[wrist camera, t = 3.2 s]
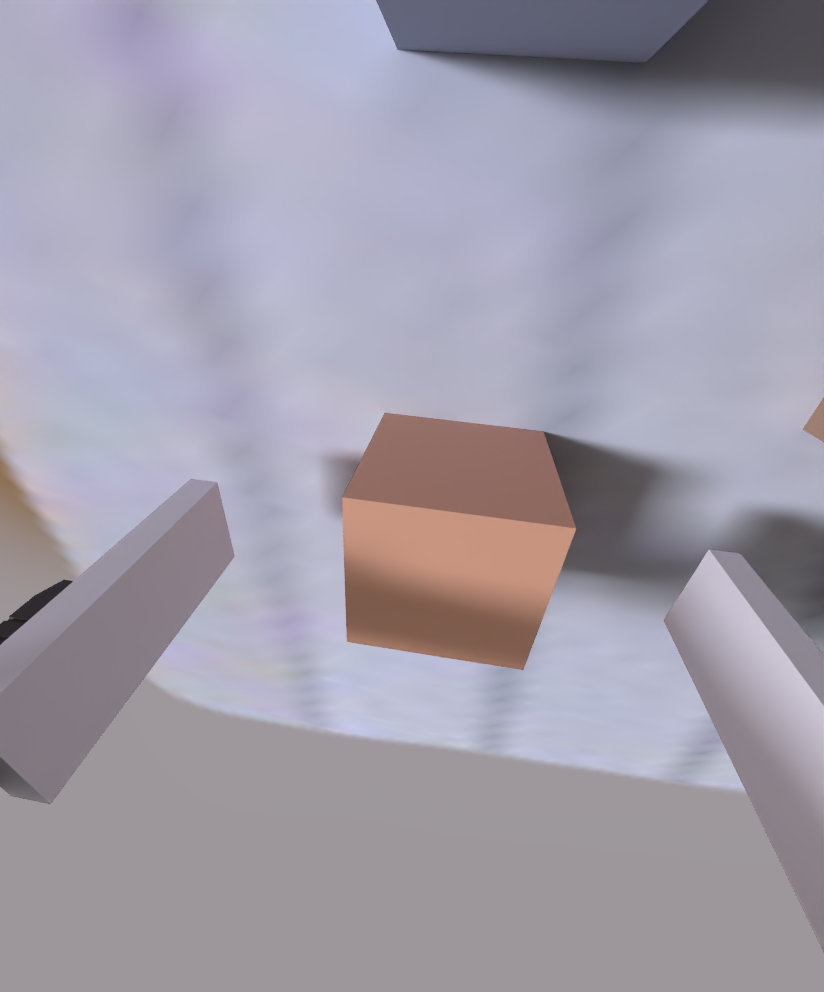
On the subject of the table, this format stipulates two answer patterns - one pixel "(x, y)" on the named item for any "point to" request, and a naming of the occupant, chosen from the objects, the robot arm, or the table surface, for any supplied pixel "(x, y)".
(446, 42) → the slate rectangular block
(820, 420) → the walnut cube
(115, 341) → the table surface
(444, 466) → the terracotta cube
